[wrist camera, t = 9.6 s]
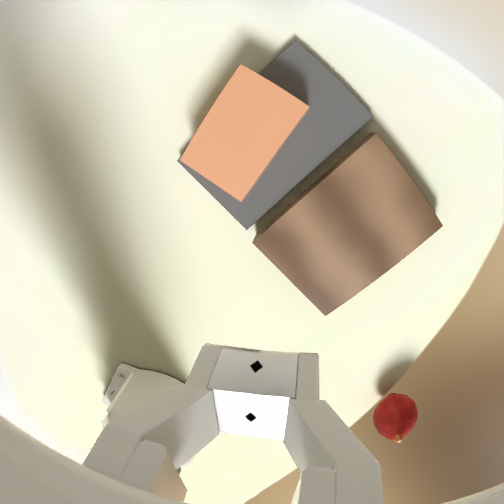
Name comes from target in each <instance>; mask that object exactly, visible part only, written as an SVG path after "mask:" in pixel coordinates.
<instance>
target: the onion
mask: <svg viewBox="0 0 504 504" xmlns="http://www.w3.org/2000/svg"><path fill="white" fill-rule="evenodd" d="M417 415H418V413H417V408H416V405H415V402H414V401H413V400H412V399H411V398H409V397H408V396H407V395H402V394H396V393H392V394H389V395H388V396H387V397H386V398H385V399H384V400H383V401H381V402H380V403H379V404H378V406H377V407H376V409H375V412H374V417H373V421H374V425H375V427H376V429H377V431H378V432H379V434H381V435H382V436H384V437H386V438H387V439H391V440H394V441H395V442H397V443H400V442H401V441H402V440H403V438H404V437H405V436H406V435H407V434H408V433H409V432H410V431H411V430H412V429H413V427H414V425H415V423H416V420H417Z"/></svg>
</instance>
